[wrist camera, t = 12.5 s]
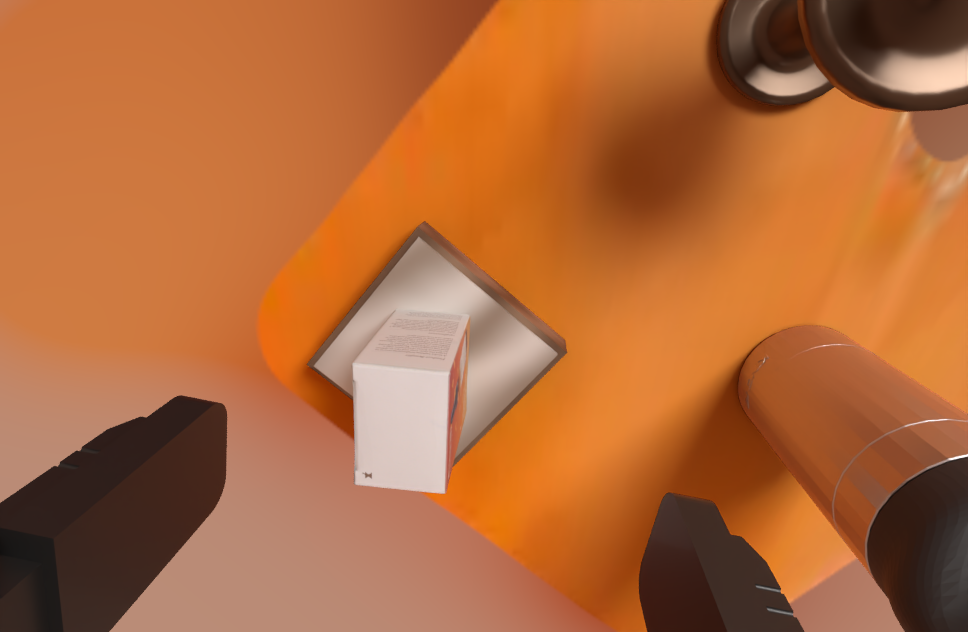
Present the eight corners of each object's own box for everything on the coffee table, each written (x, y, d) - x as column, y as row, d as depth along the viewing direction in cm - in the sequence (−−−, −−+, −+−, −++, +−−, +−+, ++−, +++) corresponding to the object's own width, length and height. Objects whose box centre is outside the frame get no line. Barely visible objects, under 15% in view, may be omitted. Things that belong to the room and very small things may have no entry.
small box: (467, 412, 42) (446, 498, 32) (394, 405, 42) (352, 489, 32) (472, 312, 39) (452, 372, 29) (395, 305, 39) (349, 363, 30)
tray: (564, 340, 42) (567, 354, 40) (451, 454, 46) (446, 475, 44) (424, 221, 40) (416, 227, 38) (319, 351, 44) (304, 366, 42)
